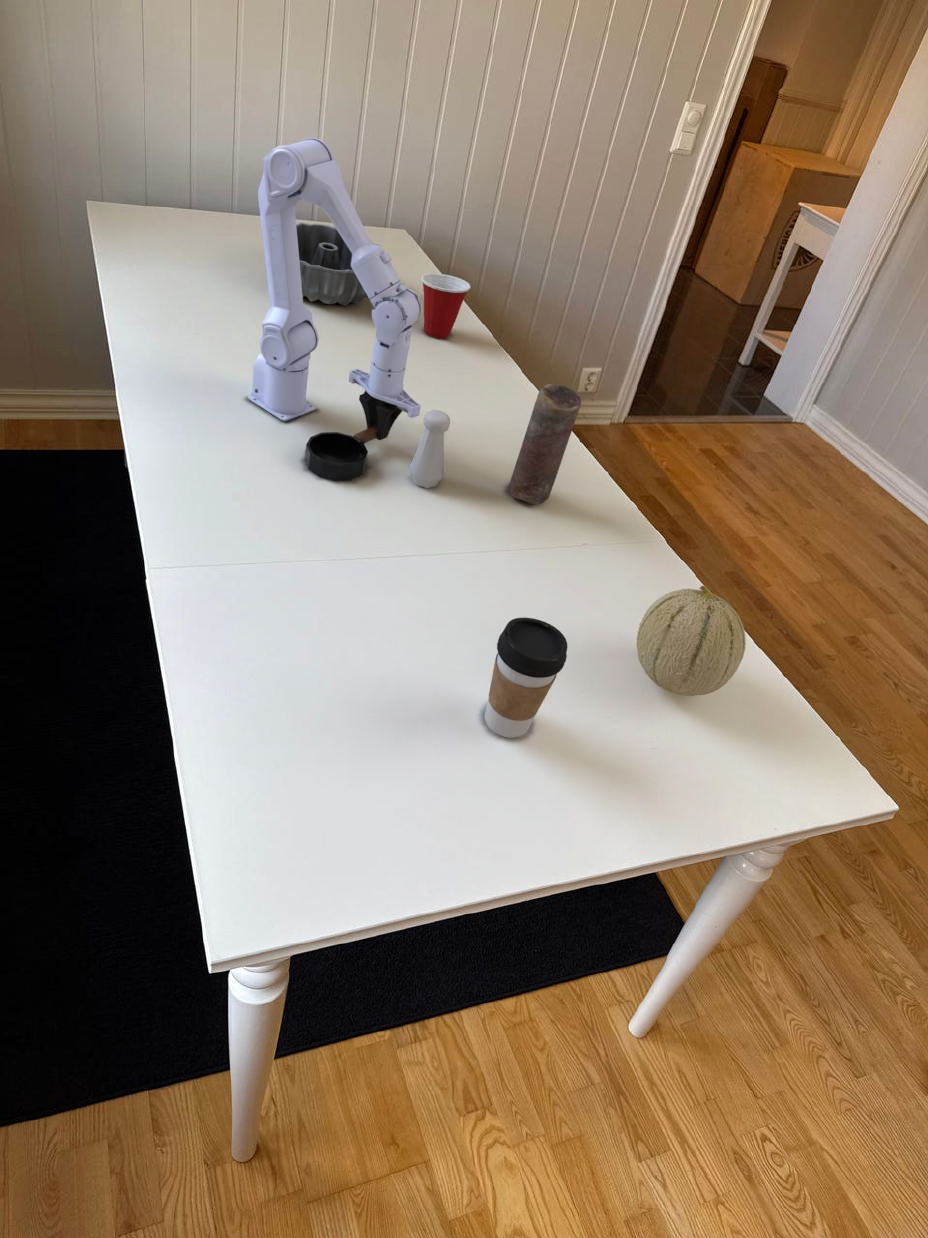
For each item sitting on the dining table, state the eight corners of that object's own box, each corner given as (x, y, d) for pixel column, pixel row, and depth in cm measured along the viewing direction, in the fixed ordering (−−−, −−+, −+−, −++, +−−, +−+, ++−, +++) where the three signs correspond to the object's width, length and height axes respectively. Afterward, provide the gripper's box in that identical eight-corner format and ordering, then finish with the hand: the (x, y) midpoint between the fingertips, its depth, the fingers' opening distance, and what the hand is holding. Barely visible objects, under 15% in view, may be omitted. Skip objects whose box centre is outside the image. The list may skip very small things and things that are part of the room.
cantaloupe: (656, 725, 118) (698, 645, 108) (603, 649, 127) (638, 570, 117) (741, 707, 124) (788, 631, 114) (685, 637, 133) (724, 560, 123)
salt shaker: (436, 494, 148) (451, 427, 140) (404, 485, 148) (416, 417, 140) (444, 477, 153) (459, 411, 144) (412, 468, 153) (425, 401, 144)
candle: (553, 494, 156) (586, 393, 143) (542, 514, 150) (576, 410, 137) (514, 479, 157) (543, 377, 144) (501, 498, 151) (530, 394, 138)
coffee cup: (472, 693, 115) (498, 609, 105) (534, 699, 117) (565, 616, 107) (477, 743, 109) (505, 658, 99) (542, 748, 110) (576, 665, 101)
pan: (336, 487, 144) (338, 468, 141) (293, 459, 147) (294, 440, 145) (404, 455, 155) (407, 436, 153) (362, 430, 159) (365, 411, 156)
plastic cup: (451, 323, 202) (462, 271, 194) (466, 345, 195) (477, 292, 187) (407, 320, 198) (415, 267, 190) (419, 342, 191) (429, 288, 183)
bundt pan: (403, 298, 207) (410, 256, 200) (332, 325, 188) (337, 279, 182) (317, 257, 215) (321, 215, 208) (240, 279, 196) (242, 233, 190)
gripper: (437, 376, 146) (423, 447, 154) (372, 340, 151) (362, 410, 159) (409, 387, 141) (397, 459, 150) (344, 349, 146) (335, 421, 155)
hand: (377, 435), depth 154 cm, fingers closed on pan, 2 cm apart
